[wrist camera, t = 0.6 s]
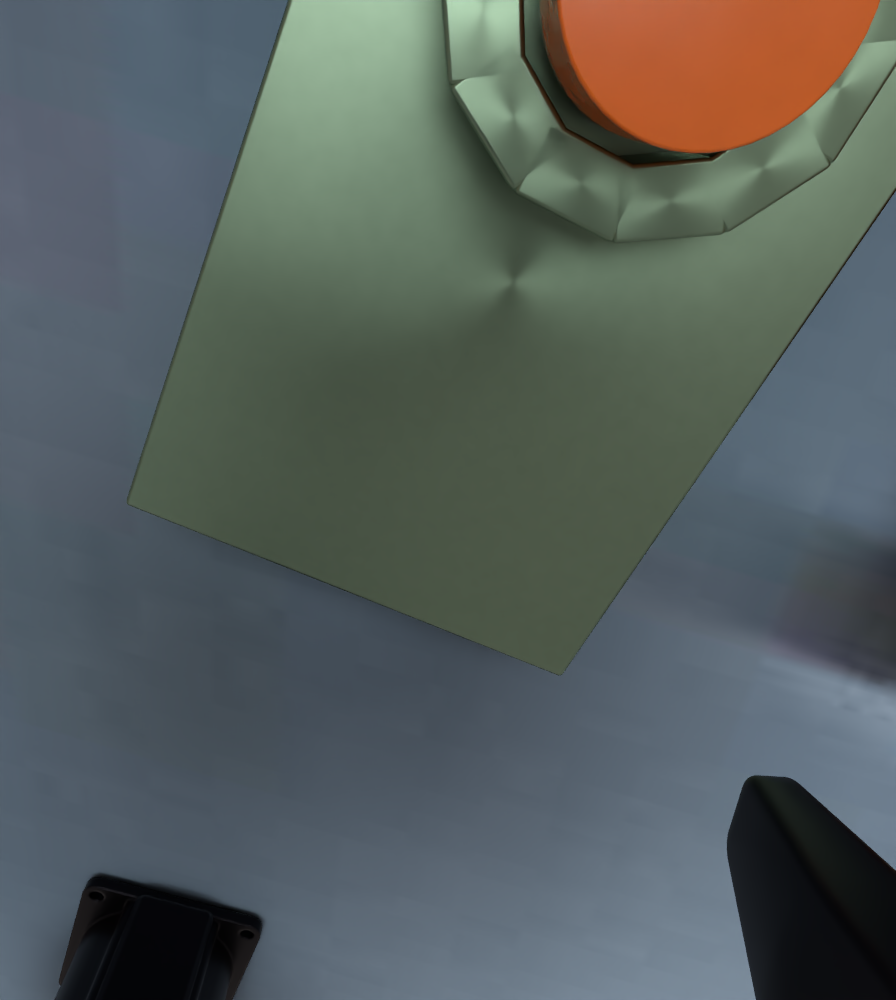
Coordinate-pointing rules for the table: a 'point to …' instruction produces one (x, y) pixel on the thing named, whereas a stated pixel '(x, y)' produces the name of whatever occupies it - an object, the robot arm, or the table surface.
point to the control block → (488, 316)
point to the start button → (700, 64)
